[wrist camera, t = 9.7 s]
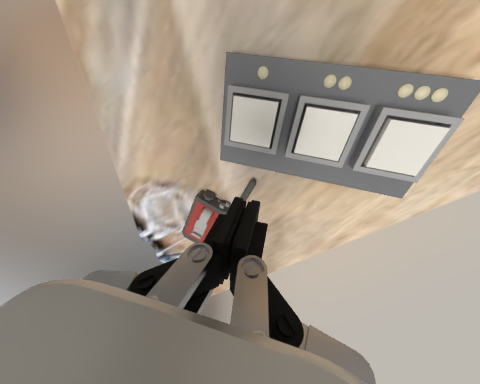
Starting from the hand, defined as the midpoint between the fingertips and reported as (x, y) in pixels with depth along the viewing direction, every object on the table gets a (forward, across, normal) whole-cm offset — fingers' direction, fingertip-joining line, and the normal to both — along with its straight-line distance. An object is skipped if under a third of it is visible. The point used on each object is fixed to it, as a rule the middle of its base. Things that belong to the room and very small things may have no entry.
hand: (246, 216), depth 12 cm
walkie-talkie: (+18, +8, +14) cm, 24 cm away
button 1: (+14, +2, -3) cm, 15 cm away
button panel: (+17, -6, -3) cm, 18 cm away
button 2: (+14, -6, -3) cm, 16 cm away
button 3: (+14, -14, -3) cm, 20 cm away
